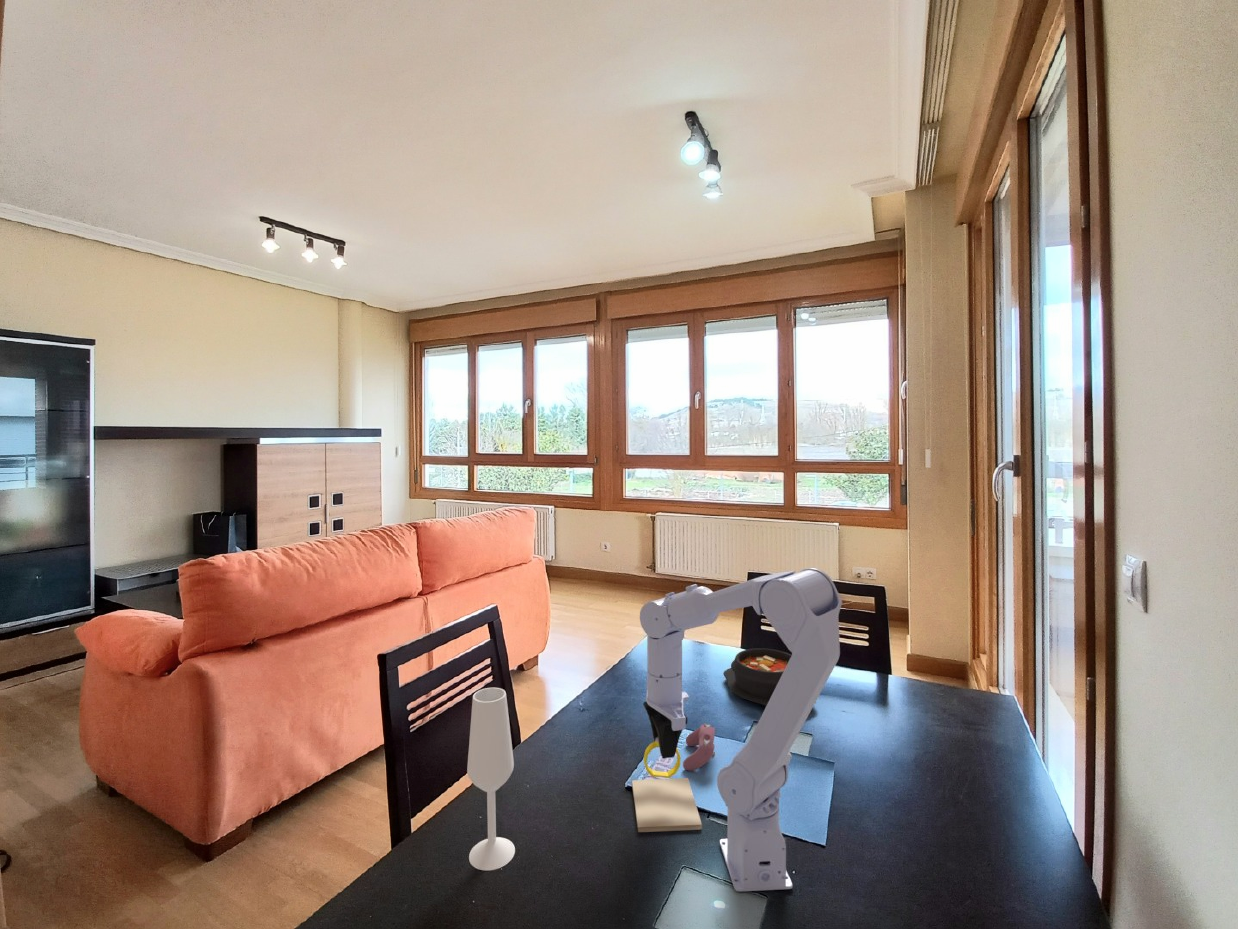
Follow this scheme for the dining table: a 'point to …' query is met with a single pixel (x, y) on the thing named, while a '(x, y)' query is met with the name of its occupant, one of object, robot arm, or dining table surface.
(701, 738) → the video game controller
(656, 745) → the watch
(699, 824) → the wooden board
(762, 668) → the casserole
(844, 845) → the dining table surface
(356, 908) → the dining table surface
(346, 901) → the dining table surface
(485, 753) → the champagne flute
